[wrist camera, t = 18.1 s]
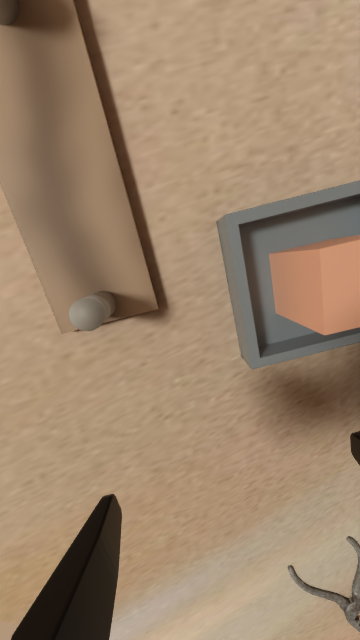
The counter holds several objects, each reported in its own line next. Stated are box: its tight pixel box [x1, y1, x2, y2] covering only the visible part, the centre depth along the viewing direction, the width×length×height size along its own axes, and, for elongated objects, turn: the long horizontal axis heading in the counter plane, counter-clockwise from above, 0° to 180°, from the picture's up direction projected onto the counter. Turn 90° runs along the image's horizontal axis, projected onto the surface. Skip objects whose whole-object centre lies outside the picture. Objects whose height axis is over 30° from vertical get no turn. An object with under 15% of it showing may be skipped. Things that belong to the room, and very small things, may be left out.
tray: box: [217, 181, 360, 369], centre depth 17 cm, size 12×12×2 cm
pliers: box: [288, 536, 360, 632], centre depth 30 cm, size 10×1×20 cm
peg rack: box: [0, 0, 159, 334], centre depth 13 cm, size 8×21×5 cm, turn 14°
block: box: [269, 235, 360, 335], centre depth 15 cm, size 5×5×6 cm
